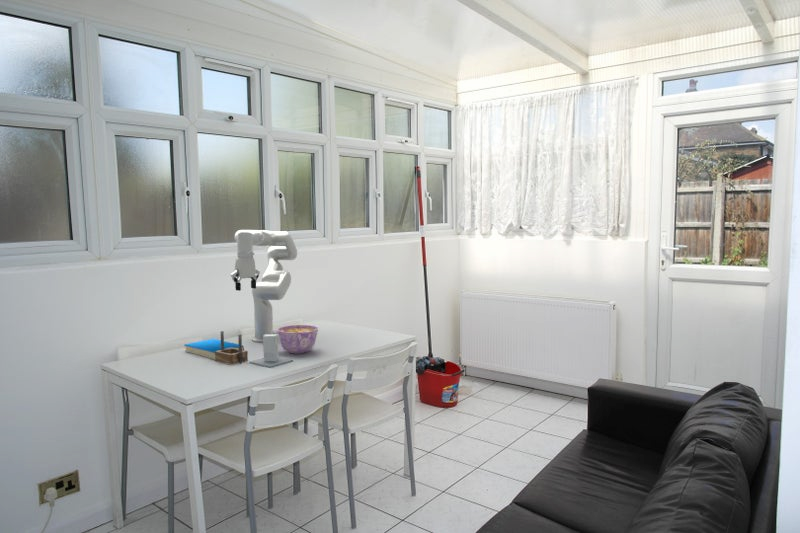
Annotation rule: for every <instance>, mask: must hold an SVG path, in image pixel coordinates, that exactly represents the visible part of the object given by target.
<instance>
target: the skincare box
mask: <svg viewBox="0 0 800 533" xmlns="http://www.w3.org/2000/svg"><path fill="white" fill-rule="evenodd" d="M278 339H279V338H278V334H265V335H264V336H263V342H262V348H263V350H262V351H263V358H264V362H277V361H278V357H279V343H278V342H279V341H278Z"/></svg>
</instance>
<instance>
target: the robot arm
mask: <svg viewBox="0 0 800 533" xmlns="http://www.w3.org/2000/svg"><path fill="white" fill-rule="evenodd" d="M234 240H235V242H236V246H237V250H236V251H237V254H236V255H237V258H236V259H235V264H234V272H232V273H231V274H230V277H231V279H232V281H233V282H234V284H235V286H234V287H235V291H238V292H240V291H241V290H242V285H241V281H242V280H243V279H251V280H250V288H251V294H252V299H253V307H254V308H253V309H254V310H253V312H254V336H253V337H252V338H251V341H253V342H254V343H255V342H256V343H263V336H264V335H265V334H277V335H278V331H277V330H273V327H274V325H273V323H274V322H273V305H272V303H271V302H270V301H280V300H283V299H284V297H285V295H286V293H287V291H288V289H289V288H290V286H291V283H292V275H291V273H290V271H287V270H284V268H283V265H282V264H281V262H280V261H293V260H295V259H296V258H297V256H298V249H297V247H296V244H295V242H294V239H293V237H292V235H291V234H290V233H289V232H288V231H284V230H283V231H277V230H276V231H275V230H266V229H261V230H258V229H240V230H237V231H236V232H235V234H234ZM254 246H255V247H256V246H258V247H269V248H267V254H266V255H267V263H268V265H267V268H266V269H265V271H264V273H263V274H262V276H261V281H259V282H257V281H258V278H259V277H260V274H261V271H259V270H257V269H256V263H255V258H254V255H255V252H254Z"/></svg>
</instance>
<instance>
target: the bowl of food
mask: <svg viewBox="0 0 800 533" xmlns="http://www.w3.org/2000/svg"><path fill="white" fill-rule="evenodd" d="M276 331H278V334H277V336H278V339H279V342H280V346H281V347H282V348H283V350H285V351H286V352H289V353H291V354H293V353H294V355H295V354H296V355H298V354H300V353H301V354H306V352H308V351H309V350H311V349H313V347H314V346H315V343H316V340H317V335H318V332H319V328H318V327H317V326H315V325H309V324H293V325H285V326H280V327H278V328H277V330H276Z"/></svg>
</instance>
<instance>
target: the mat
mask: <svg viewBox="0 0 800 533" xmlns="http://www.w3.org/2000/svg"><path fill="white" fill-rule="evenodd" d="M248 362H249V363H248V364H252V365H257V366H259V367H260V366H261V367H264V366H265V367H264V368H269V369H270V368H271V367H272V368H275V367H278V366H282V365H285V364H288V363H291V362H294V359H291V358H285V357H283V356H282V357H281V356H278V361H277V362H264V357H263V358H258V359H255V360H251V361H248Z"/></svg>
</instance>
